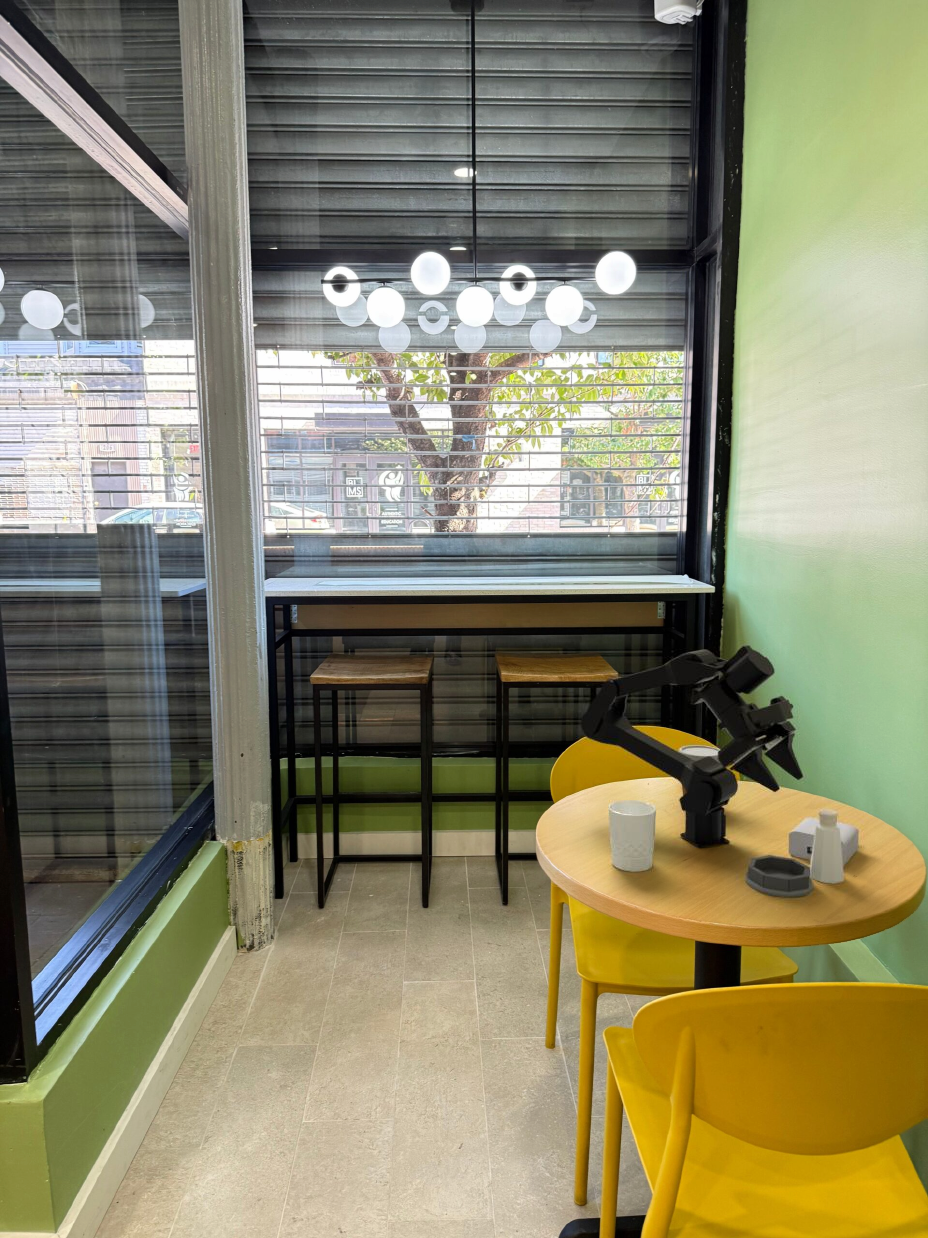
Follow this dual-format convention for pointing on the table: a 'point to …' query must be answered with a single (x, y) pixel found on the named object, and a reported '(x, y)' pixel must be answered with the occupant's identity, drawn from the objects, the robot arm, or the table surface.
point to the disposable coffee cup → (698, 754)
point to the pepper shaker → (827, 850)
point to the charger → (804, 839)
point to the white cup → (632, 834)
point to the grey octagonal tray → (779, 876)
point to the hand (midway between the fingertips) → (789, 784)
